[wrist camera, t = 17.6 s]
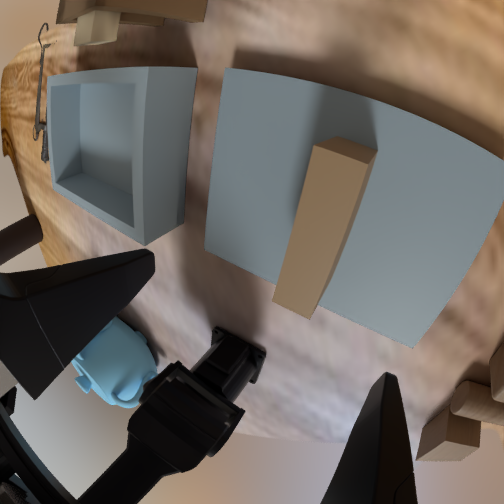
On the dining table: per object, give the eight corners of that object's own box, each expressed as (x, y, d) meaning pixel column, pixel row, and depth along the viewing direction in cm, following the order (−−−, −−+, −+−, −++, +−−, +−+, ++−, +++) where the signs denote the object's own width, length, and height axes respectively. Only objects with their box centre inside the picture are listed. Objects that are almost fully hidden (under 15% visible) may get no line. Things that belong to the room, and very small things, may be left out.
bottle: (45, 245, 54) (-21, 287, 39) (33, 229, 55) (-30, 267, 40) (41, 224, 49) (-31, 267, 34) (30, 208, 50) (-38, 246, 35)
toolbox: (183, 223, 26) (101, 273, 19) (84, 176, 32) (22, 203, 25) (211, -11, 14) (107, -39, 7) (90, 18, 20) (17, 23, 13)
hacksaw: (51, 164, 37) (44, 167, 36) (32, 146, 40) (26, 148, 38) (65, 20, 22) (56, 20, 21) (43, 23, 25) (36, 23, 23)
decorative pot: (141, 371, 54) (98, 412, 43) (95, 309, 51) (45, 347, 40) (182, 376, 43) (129, 432, 33) (123, 296, 40) (56, 348, 30)
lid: (414, 329, 20) (404, 396, 15) (218, 238, 26) (167, 276, 21) (504, 161, 11) (548, 191, 6) (242, 69, 17) (176, 63, 12)
